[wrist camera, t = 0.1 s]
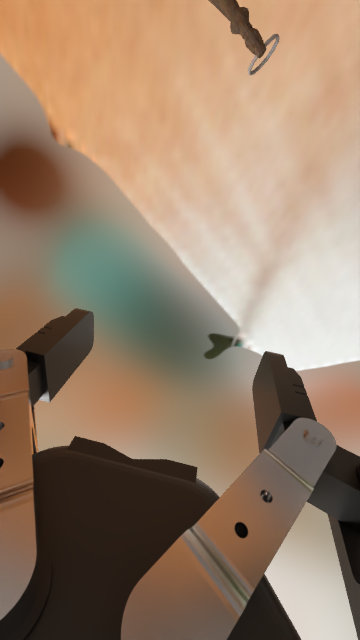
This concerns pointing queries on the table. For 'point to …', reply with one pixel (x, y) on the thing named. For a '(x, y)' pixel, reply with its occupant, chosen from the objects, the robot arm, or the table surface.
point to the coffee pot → (245, 30)
